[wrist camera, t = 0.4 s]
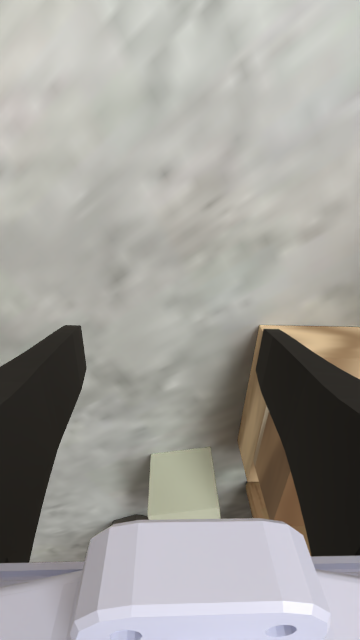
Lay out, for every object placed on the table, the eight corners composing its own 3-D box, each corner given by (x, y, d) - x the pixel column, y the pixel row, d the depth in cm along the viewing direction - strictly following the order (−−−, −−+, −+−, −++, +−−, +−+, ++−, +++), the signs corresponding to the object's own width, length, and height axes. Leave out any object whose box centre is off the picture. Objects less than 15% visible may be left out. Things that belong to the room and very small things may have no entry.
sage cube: (210, 446, 30) (219, 507, 25) (214, 482, 33) (223, 544, 28) (150, 453, 30) (147, 516, 25) (160, 489, 33) (159, 551, 28)
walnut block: (300, 390, 21) (335, 452, 17) (279, 460, 25) (303, 526, 20) (270, 390, 21) (296, 451, 17) (253, 460, 25) (271, 526, 20)
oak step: (383, 327, 24) (423, 359, 20) (336, 439, 30) (360, 480, 27) (259, 325, 24) (277, 357, 20) (237, 440, 30) (247, 481, 26)
